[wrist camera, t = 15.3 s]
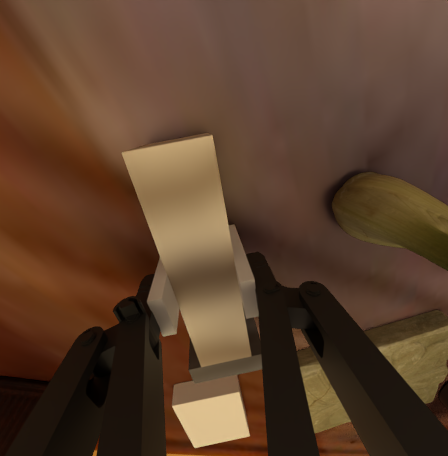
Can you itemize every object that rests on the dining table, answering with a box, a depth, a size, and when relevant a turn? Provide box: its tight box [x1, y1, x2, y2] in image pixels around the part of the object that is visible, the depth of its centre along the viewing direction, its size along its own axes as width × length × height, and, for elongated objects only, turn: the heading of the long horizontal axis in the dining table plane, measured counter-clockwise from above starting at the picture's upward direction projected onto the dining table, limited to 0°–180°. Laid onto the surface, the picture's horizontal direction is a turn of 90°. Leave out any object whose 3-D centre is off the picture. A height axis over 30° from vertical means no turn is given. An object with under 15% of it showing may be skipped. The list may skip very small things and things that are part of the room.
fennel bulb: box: [332, 172, 448, 271], centre depth 12 cm, size 6×5×12 cm
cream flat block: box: [172, 375, 250, 448], centre depth 28 cm, size 3×8×12 cm
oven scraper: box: [122, 133, 262, 384], centre depth 15 cm, size 18×6×5 cm, turn 10°
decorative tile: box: [297, 310, 448, 433], centre depth 28 cm, size 19×20×4 cm
